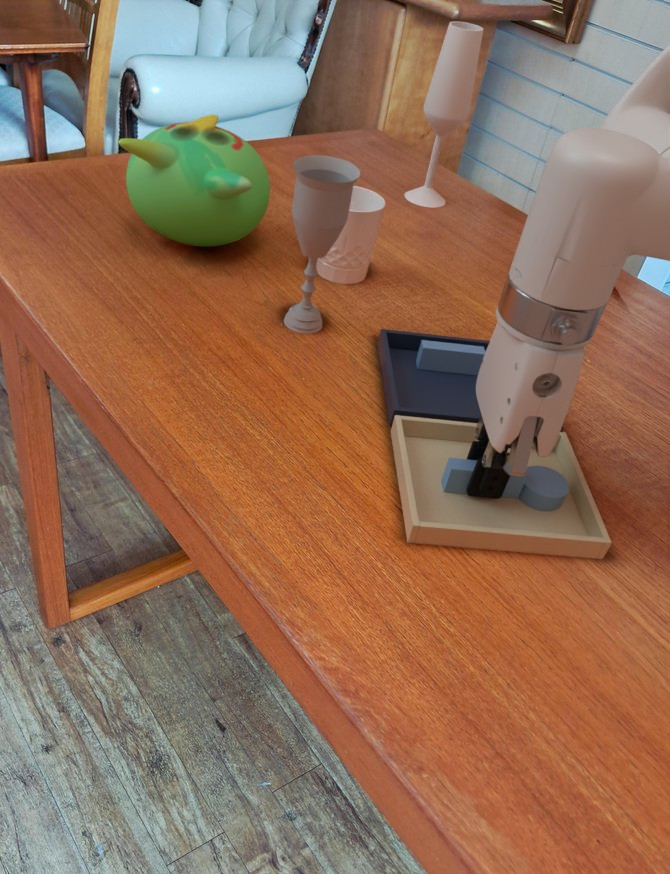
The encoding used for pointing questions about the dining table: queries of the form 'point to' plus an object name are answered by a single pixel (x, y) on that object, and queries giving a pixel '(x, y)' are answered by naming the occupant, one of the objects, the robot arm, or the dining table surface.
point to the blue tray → (425, 380)
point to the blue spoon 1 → (450, 357)
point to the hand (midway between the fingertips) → (480, 485)
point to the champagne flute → (449, 98)
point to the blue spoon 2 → (513, 484)
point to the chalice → (318, 223)
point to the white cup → (354, 240)
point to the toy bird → (197, 183)
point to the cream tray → (486, 517)
